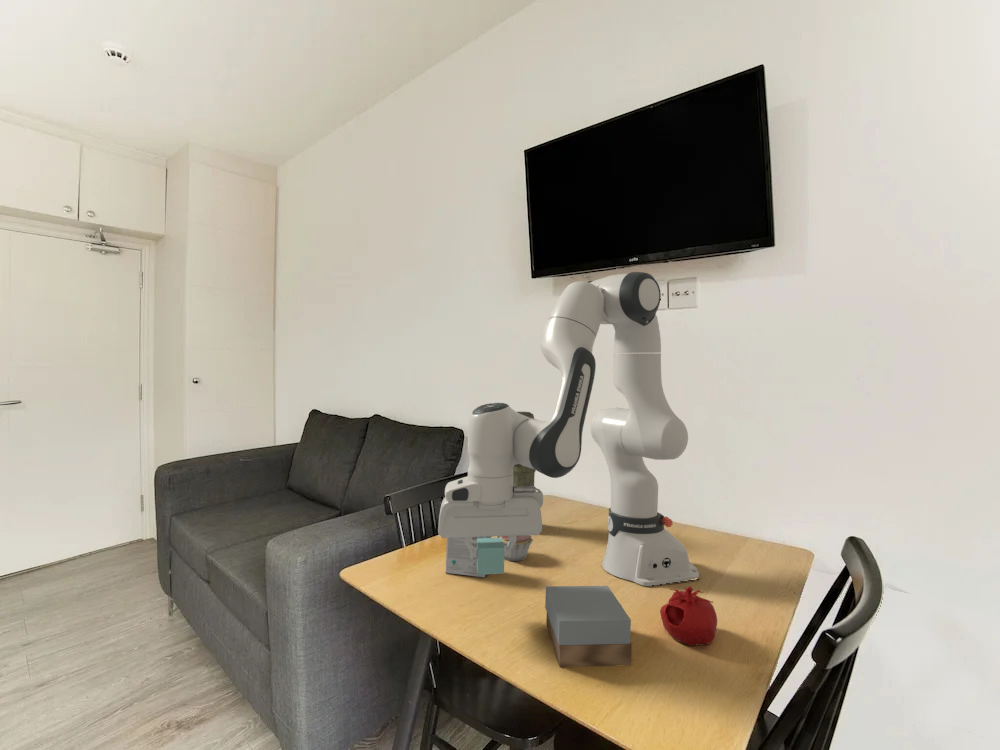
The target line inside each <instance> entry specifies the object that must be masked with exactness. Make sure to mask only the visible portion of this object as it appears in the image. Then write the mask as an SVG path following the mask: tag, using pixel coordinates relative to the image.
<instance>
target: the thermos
mask: <svg viewBox="0 0 1000 750" xmlns="http://www.w3.org/2000/svg"><path fill="white" fill-rule="evenodd" d="M517 412H518V413H519V414H522V415H524V416H526V417H529V418H532V419H535V417H534V414H533V413H532V412H530V411H517ZM536 471H537V470H535V469H532V468H529V467H526V466H523V465H521V464H516V465H514V466H513V487H515V486H516V487H519V486H521V487H529V486H534V487H535V473H536Z"/></svg>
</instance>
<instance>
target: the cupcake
mask: <svg viewBox="0 0 1000 750" xmlns="http://www.w3.org/2000/svg"><path fill="white" fill-rule="evenodd" d="M532 537H533V535H524V536H517V537H516V543H515V544H514V546H513V548H512V549H511V558H504V560H506V561H509V562H520V561H524V560H526V558H527V556H528V553H529V550H530V549H529V548H530V546H531V544H532V543H533V541H534V539H533V538H532ZM496 538H502V540H503V545H504V546H507V544H508V542H509V537H508V536H496Z"/></svg>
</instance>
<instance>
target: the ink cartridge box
mask: <svg viewBox="0 0 1000 750" xmlns="http://www.w3.org/2000/svg"><path fill="white" fill-rule="evenodd" d="M477 538H492V537H472V542H471V544H472V545H473V547H477ZM445 550H446V552H445V553H446V554H445V574H452V575H460V576H469V577H470V576H471V577H478V578H486V577H487V576H488V574H481V575H478V570H477V559H470V551H469V549H468V547H467V546H466V544H465V540H464V537H459V538H446V549H445Z"/></svg>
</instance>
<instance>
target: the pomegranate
mask: <svg viewBox="0 0 1000 750" xmlns="http://www.w3.org/2000/svg"><path fill="white" fill-rule="evenodd" d="M684 589H685V590H684V591H683V590H678V589H675V588H674V589H671V588H669V590H670V591H674V592H673V593H672V595H671V597H670V598H669V599H668V602H667V603H666V604H664V605H662V606H661V607H660V618H661V621H662V625H663V628H664V630H666V632H667V633H668V635H670V636H671V637H672V638H673V639H674V640H676V641H678V642H680V643H682V644H684V643H685V644H684V645H687V644H688V645H687V646H691V645H696V644H705V645H704V646H706V644H707V645H709V644H711V643H712V642H713V641H714V639H715V636H716V631H717V625H718V616H717V613H716V609H715V608H714V606H713V603H714V601H711V600H708V599H706V598H704V597H701V596H699V595H698V593H701V594H702V593H704V591H701V590H699V589H697V590H696V591H694V589H693V587H692V586H691V585H690V586H687V587H684ZM693 591H694V592H693ZM696 646H697V645H696Z"/></svg>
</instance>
